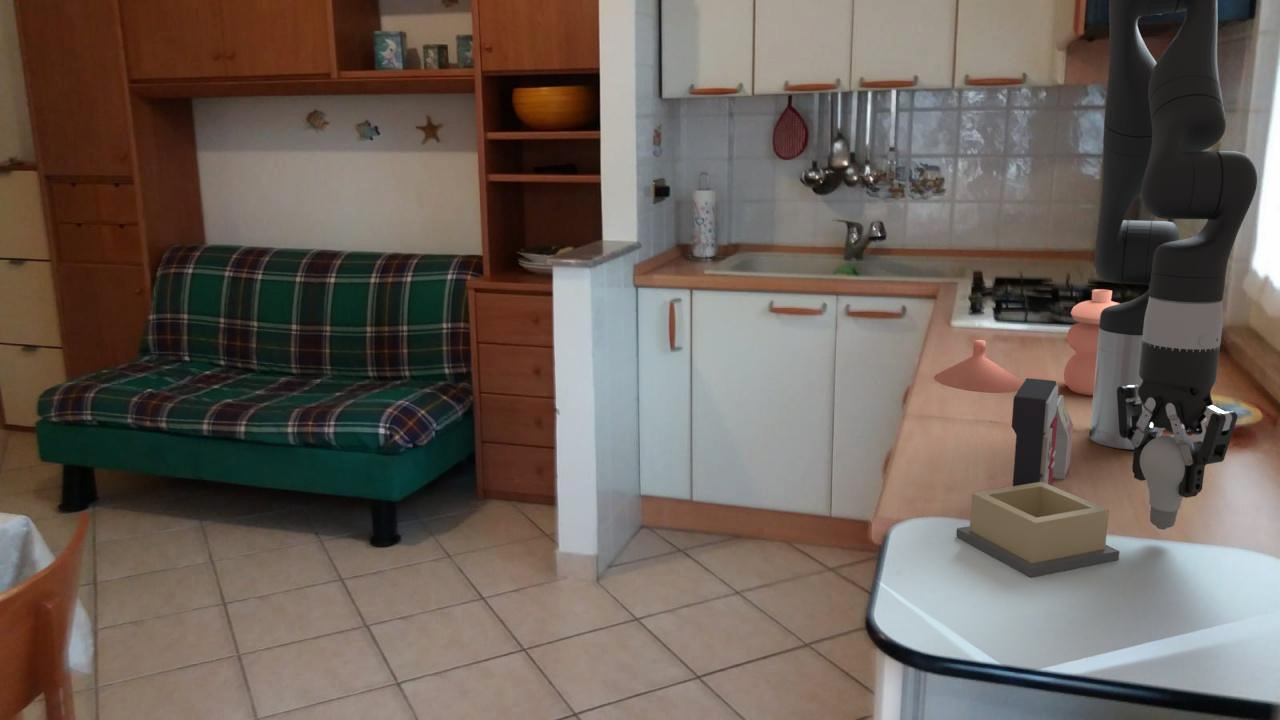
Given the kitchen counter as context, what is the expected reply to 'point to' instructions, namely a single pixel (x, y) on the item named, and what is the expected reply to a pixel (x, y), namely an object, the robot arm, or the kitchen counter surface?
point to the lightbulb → (1163, 479)
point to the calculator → (1035, 431)
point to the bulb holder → (1038, 529)
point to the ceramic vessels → (1078, 370)
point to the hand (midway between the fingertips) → (1164, 486)
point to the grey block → (1062, 440)
